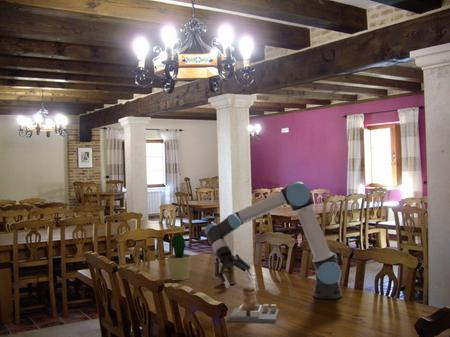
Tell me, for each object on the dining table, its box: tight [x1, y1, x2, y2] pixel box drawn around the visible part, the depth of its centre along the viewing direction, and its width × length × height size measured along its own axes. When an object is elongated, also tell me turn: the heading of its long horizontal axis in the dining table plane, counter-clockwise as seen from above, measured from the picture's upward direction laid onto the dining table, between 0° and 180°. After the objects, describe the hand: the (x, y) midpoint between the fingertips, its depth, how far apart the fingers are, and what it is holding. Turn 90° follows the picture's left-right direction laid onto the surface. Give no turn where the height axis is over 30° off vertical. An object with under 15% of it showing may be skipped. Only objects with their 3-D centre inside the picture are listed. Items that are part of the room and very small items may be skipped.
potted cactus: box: [166, 233, 192, 281], centre depth 315 cm, size 15×15×30 cm
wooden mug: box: [220, 262, 237, 285], centre depth 294 cm, size 9×14×18 cm, turn 26°
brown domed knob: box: [242, 286, 257, 315], centre depth 231 cm, size 7×7×12 cm
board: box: [227, 303, 280, 324], centre depth 231 cm, size 22×16×4 cm
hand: (239, 284), depth 237 cm, fingers open, 13 cm apart
